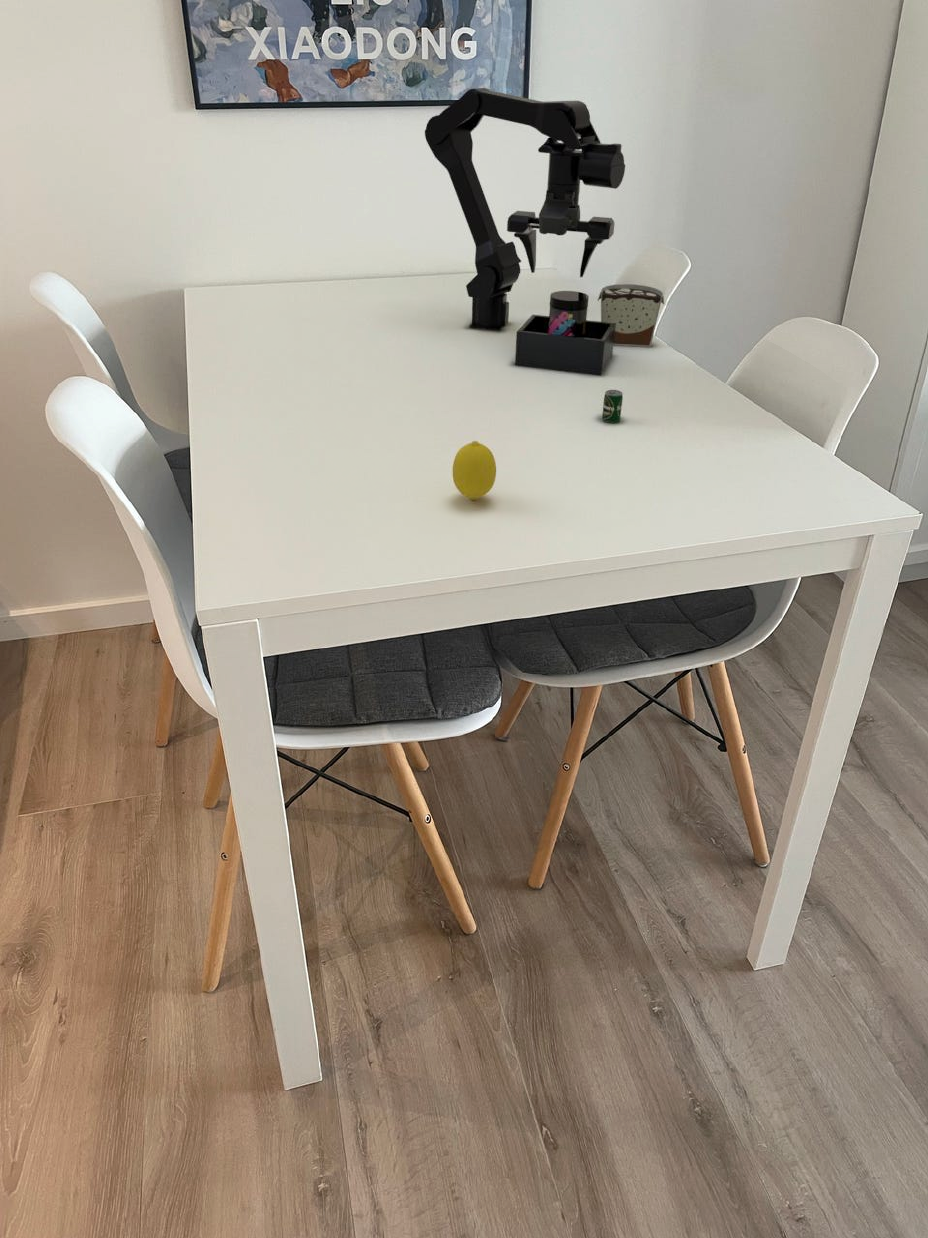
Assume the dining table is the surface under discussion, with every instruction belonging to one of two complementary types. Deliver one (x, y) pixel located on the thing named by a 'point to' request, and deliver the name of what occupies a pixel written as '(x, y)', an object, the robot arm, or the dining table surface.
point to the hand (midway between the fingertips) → (557, 274)
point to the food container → (631, 312)
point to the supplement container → (568, 313)
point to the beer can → (612, 406)
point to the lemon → (474, 470)
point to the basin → (565, 347)
